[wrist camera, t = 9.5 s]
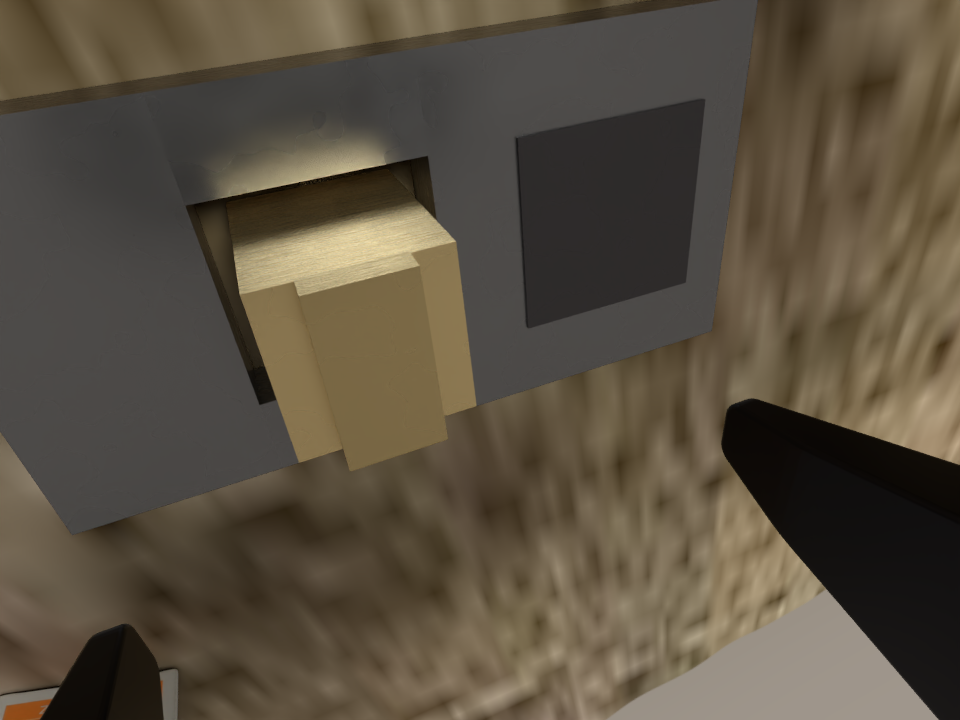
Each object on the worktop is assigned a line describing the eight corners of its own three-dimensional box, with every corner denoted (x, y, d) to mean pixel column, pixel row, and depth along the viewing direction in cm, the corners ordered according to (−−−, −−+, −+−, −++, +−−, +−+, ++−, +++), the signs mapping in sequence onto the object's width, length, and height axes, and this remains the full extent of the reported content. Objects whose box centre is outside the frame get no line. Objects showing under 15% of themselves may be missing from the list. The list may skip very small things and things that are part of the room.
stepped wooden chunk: (386, 166, 18) (469, 253, 13) (410, 305, 21) (488, 426, 15) (225, 200, 17) (241, 311, 12) (273, 342, 19) (304, 486, 14)
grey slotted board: (711, -9, 19) (761, -6, 17) (678, 307, 25) (713, 332, 23) (-152, 124, 13) (-201, 147, 12) (81, 488, 20) (71, 537, 18)
